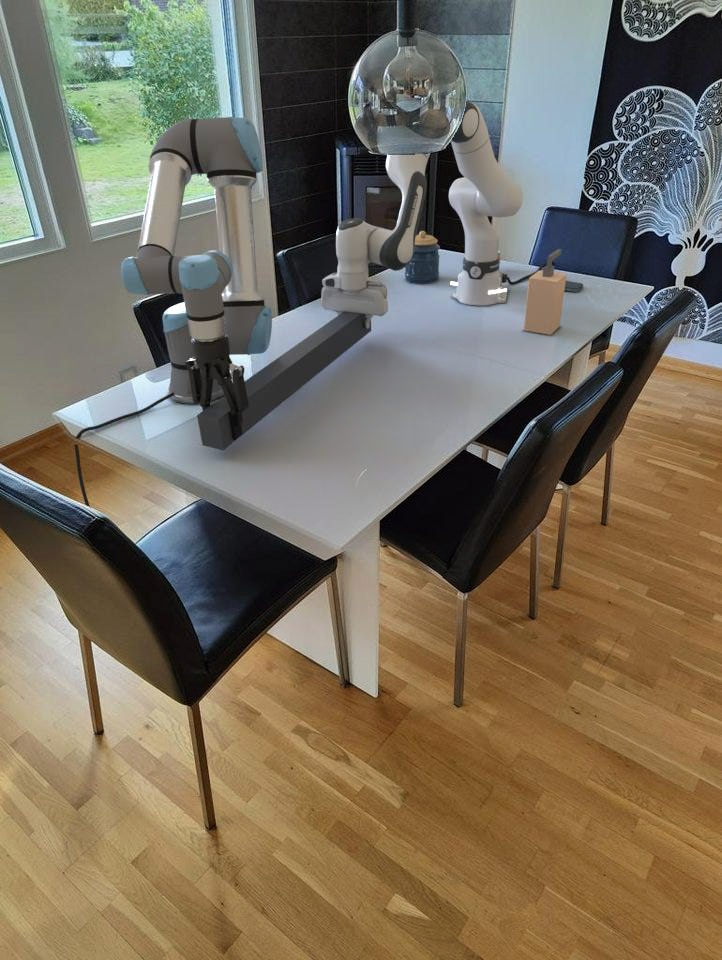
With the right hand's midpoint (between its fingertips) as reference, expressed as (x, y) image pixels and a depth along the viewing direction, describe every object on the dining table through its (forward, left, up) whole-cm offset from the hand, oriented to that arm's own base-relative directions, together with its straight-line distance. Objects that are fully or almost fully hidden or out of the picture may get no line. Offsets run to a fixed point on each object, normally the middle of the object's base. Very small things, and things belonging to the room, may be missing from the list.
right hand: (355, 326), depth 199 cm
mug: (-86, +17, -6) cm, 88 cm away
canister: (-69, -5, -6) cm, 69 cm away
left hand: (+67, 0, -2) cm, 67 cm away
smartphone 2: (-75, +45, -6) cm, 88 cm away
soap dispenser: (-34, +49, -6) cm, 60 cm away
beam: (+34, 0, -3) cm, 34 cm away
